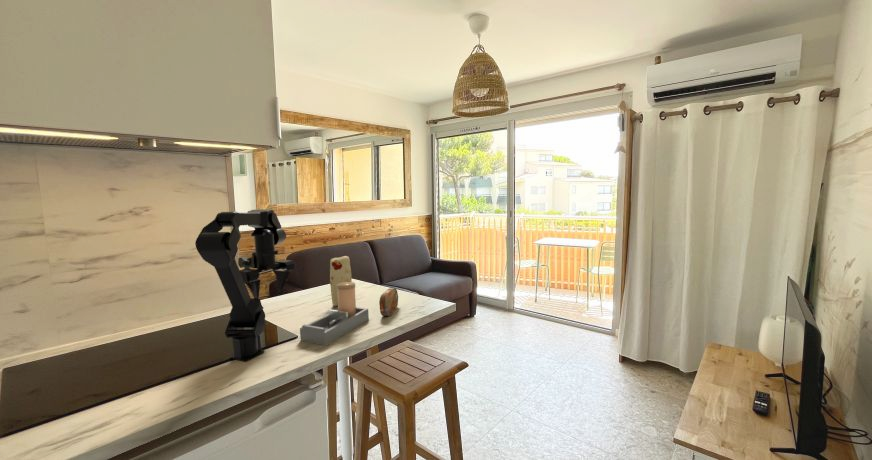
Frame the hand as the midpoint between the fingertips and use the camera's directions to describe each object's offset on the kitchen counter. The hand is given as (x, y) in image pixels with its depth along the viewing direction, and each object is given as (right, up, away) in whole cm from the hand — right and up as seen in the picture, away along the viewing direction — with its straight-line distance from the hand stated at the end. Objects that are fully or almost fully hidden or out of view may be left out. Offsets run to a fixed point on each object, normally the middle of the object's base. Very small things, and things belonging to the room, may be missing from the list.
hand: (268, 295), depth 118 cm
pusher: (+21, -11, +3) cm, 24 cm away
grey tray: (+21, -12, +4) cm, 25 cm away
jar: (+23, -10, +10) cm, 27 cm away
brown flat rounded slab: (+37, -10, +20) cm, 43 cm away
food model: (+16, -9, +30) cm, 36 cm away
